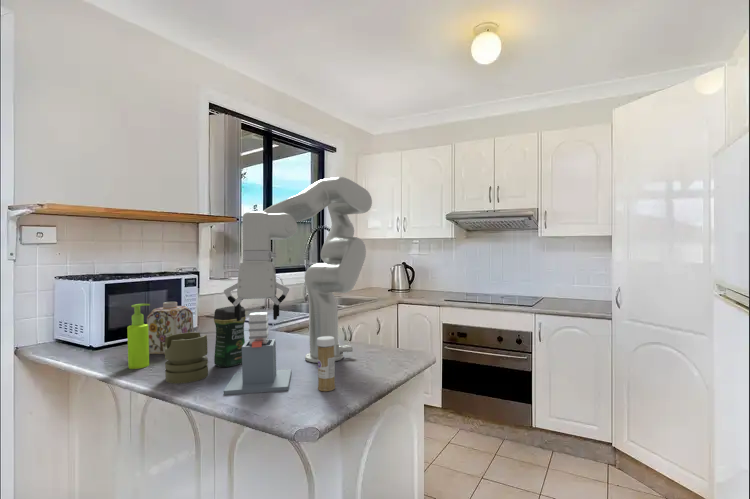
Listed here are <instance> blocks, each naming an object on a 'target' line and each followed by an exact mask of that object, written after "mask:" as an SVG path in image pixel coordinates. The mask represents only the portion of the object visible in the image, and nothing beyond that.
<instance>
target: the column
mask: <svg viewBox="0 0 750 499" xmlns="http://www.w3.org/2000/svg"><path fill="white" fill-rule="evenodd" d="M268 315H269V312H268V311H263V312H262V311H260V312H255V311H254V312H250V313H249V315H248V326H249V328H248V332H249V336H248V340H250V344H249V346H252V342H255V341H262V345H268V343H269V340H268V339H269V335H270V332H269V327H270V326H269V316H268Z"/></svg>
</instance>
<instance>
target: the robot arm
mask: <svg viewBox="0 0 750 499" xmlns="http://www.w3.org/2000/svg"><path fill="white" fill-rule="evenodd" d="M372 206H373V199H372V196H371V194H370V192H369V191H368V190H367V189H366V188H364V187H363V186H361V185H360V184H358V183H357V182H355V181H354V180H352V179H349V178H347V177H345V176H337V177H330V178H323V179H319V180H317V181H315V182H314V183H312V184H311V185H309V186H308V187H307V188H305V189H304V190H302V191H300V192H299V193H298V194H296V195H293V196H290V197H288V198H286V199H285V200H282V201H280V202H277V203H275V204H272V205H270V206H269V207H267V208H265V209H263V210H262V211H248V212H245V213H243V215H242V218H241V222H242V223H241V224H242V225H241V227H242V230H241V232H242V235H241V237H242V240H241V242H242V244H241V245H242V250H241V251H242V262H239V265H238V266H239V268H238V273H237V275H238V276H237V283H235V284H232V285H231V286H229V287H228V288H225V289H223V293H224V295H225V296H226V299H227V300H228V301H229V302H230V303H231V304H232V306H235V318H237V321H240V320H241V307H242V305H241V302H242V301H243V300H256V299H264V300H265V299H270V300H272V302H273V304H274V305H273V309H272V312H273V314H272V316H273V317H272V318H273V320H275V321H277V319H278V317H280V305H281V303H282V302H283V301H284V300H285V299H286V298H287V296H288V294H289V291H290V288H289V287H287V286H286V285H283V284H281V283H279V282H277V274H276V268H275V267H276V266H275V262H274V261H272V259H276V258H277V252H273V251H272V249H271V248H272V247H271V246H272V244H271V243H272V241H271V240H287V239H290V238H292V237H293V236H294V235H295V234H296V233H297V231H298V230H297V229H298V222H303V221H306V220H309V219H312V218H314V217H315V216H316V215H317V214H319V212H321V211H322V210H324V209H325V208H327V210H328V213H329V216H330V219H331V226H330V230H329V232H328V234H327V236H326V238H325V241H324V243H323V245H322V247H321V250H320V258H321V260H322V262H321V263H320V262H319V263H314V264H312V265H310V266H309V267H308V268H307V269H306V271H305V275H304V281H305V282H304V283H305V287H306V292H307V297H308V298H307V299H308V322H309V323H308V324H309V325H308V327H309V329H308V330H309V332H308V333H309V352H308V353H306V354H305V356H304V358H305V360H306V361H307V362H309V363H316V364H318V346H317V338H319V337H322V336H331V337H334V340H335V344H334V359H335V362H337V361H340V360H342V359H343V358H344V353H352V352H354V351H353V350H354V349H353V345H348V344H347V345H342V344H340V341H339V316H338V315H339V313H338V311H339V310H338V309H339V308H338V307H339V306H338V301H337V299H336V296H335V295H334V293H335V294H336V293H341V294H345V293H349V292H351V291H352V290H353V289H354V288H355V286H356V283H357V281H358V278H359V276H360V275H361V274H360V273H361V271H362V269H363V266H364V263H365V260H366V257H367V256H366V255H367V249H366V244H365V242H364V240H362V239H361V238H360V237H358V236H354V235H355V226H354V225H353V223H352V222H351V219H350V217H349V215H358V214H359V215H360V214H365V213H369V211H370V210H371V208H372ZM277 289H278V290H280V291H282V293H281V295H280V297H278V296H276V295H277V293H278V292H277ZM235 290H236V293H237V298H235V296H233V295H232V292H234V291H235Z"/></svg>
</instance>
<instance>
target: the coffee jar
mask: <svg viewBox="0 0 750 499" xmlns="http://www.w3.org/2000/svg"><path fill="white" fill-rule="evenodd" d="M213 314H214V315H213V322H214V325H215V344H214V345H215V346H214V357H213V358H214V359H213V364H214V365H215V366H217V367H219V368H222V367H226V368H229V367H234V366H238V365H240V364H241V365H242V346H243V345H244V343H245V342H246V341H245V321H246V319H247V318H246V309H245V307H244V306H241V320H240V321H237V318H235V306H234V305H231V306H225V307H224V306H223V307H219V308H216V309H215V310H214V313H213Z"/></svg>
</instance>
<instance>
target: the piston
mask: <svg viewBox="0 0 750 499" xmlns="http://www.w3.org/2000/svg"><path fill="white" fill-rule="evenodd" d="M207 355H208V336H207V334H205V335H202V336H201V333H200V332H199V331H194V332H189V333H180V334H174V335H170V336H167V337H165V354H164V359H165V360H166V361H164V366H165V368H164V369H165V372H164V373H165V382H167V383H169V384H189V383H194V382H197V381H200V380H203V379H205V378H207V377H208V375H209V364H208V363H209V361H208V356H207Z"/></svg>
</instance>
